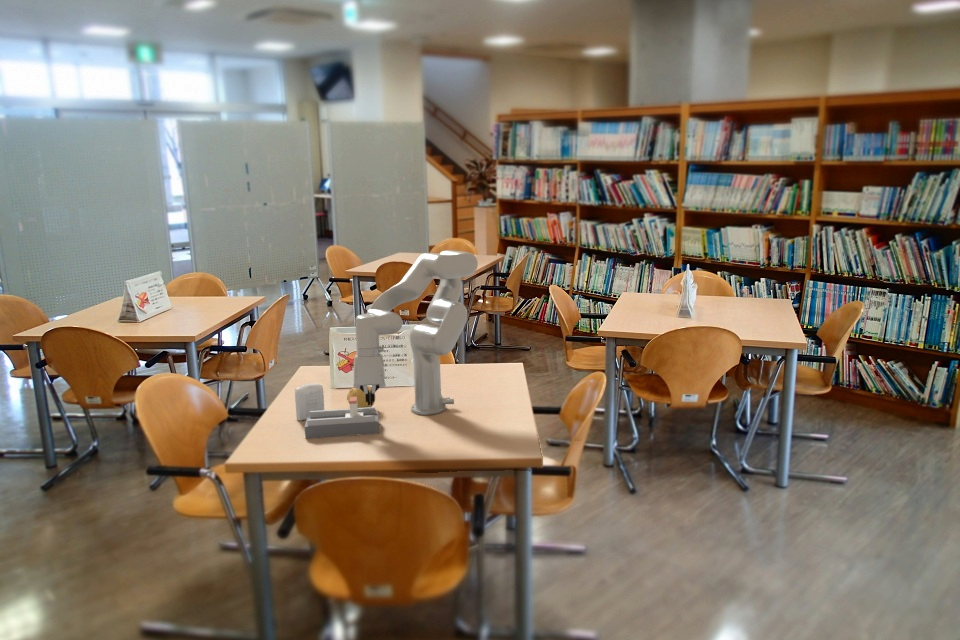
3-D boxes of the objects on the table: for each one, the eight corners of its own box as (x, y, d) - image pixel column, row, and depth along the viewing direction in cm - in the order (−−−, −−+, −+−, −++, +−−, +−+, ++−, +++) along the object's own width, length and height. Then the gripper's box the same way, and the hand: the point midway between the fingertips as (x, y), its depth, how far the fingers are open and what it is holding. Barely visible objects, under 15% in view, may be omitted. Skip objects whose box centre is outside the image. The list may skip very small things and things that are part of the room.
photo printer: (322, 412, 263) (319, 379, 260) (326, 415, 260) (324, 382, 257) (294, 418, 258) (292, 385, 255) (299, 422, 254) (296, 388, 251)
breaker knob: (363, 414, 248) (362, 395, 247) (363, 420, 243) (361, 401, 241) (345, 415, 248) (344, 396, 246) (344, 421, 242) (343, 402, 240)
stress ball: (365, 407, 270) (343, 392, 267) (381, 389, 267) (359, 374, 264) (363, 421, 261) (340, 406, 258) (379, 402, 258) (356, 387, 255)
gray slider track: (378, 422, 252) (377, 406, 251) (378, 433, 242) (377, 416, 241) (308, 427, 249) (307, 410, 247) (305, 438, 239) (304, 421, 238)
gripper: (390, 347, 245) (392, 399, 249) (345, 349, 243) (348, 401, 247) (390, 353, 238) (392, 406, 242) (344, 355, 236) (347, 408, 240)
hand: (370, 403), depth 244 cm, fingers closed
